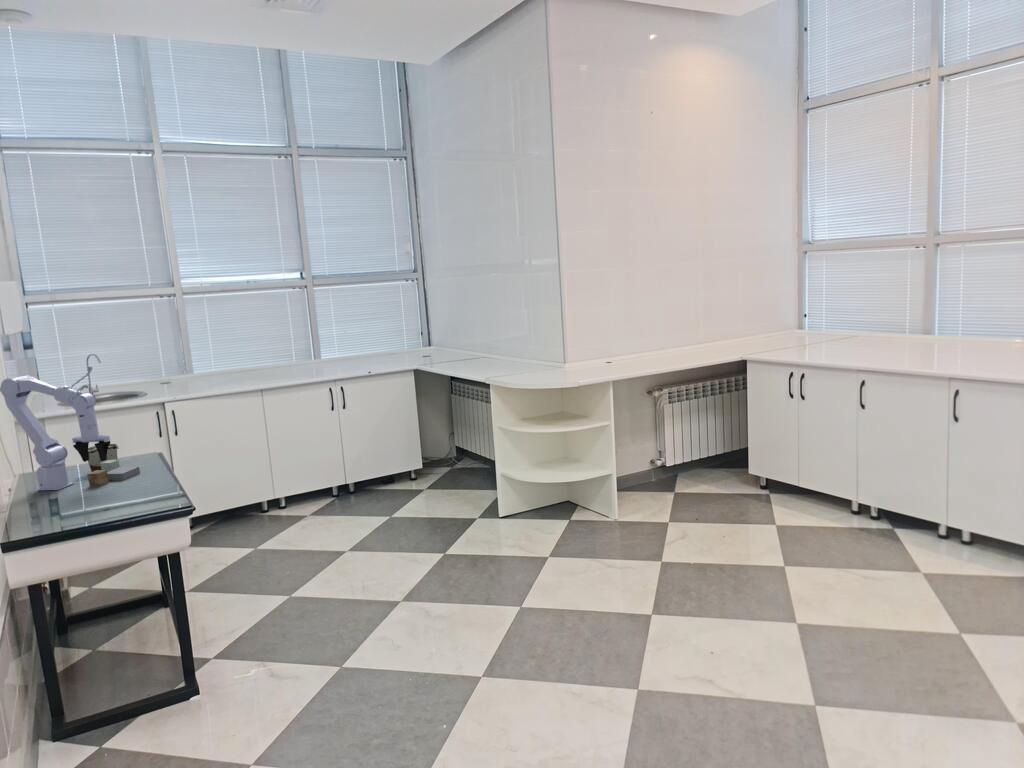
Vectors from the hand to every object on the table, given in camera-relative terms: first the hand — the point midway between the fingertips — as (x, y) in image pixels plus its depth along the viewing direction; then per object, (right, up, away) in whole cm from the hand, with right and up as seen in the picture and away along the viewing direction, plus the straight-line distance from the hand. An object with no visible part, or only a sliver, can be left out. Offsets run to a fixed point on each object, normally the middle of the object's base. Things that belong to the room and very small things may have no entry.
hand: (95, 460), depth 269 cm
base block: (+5, -8, +10) cm, 14 cm away
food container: (-10, -6, +24) cm, 26 cm away
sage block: (-3, -7, +17) cm, 19 cm away
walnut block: (+1, -9, +2) cm, 9 cm away
